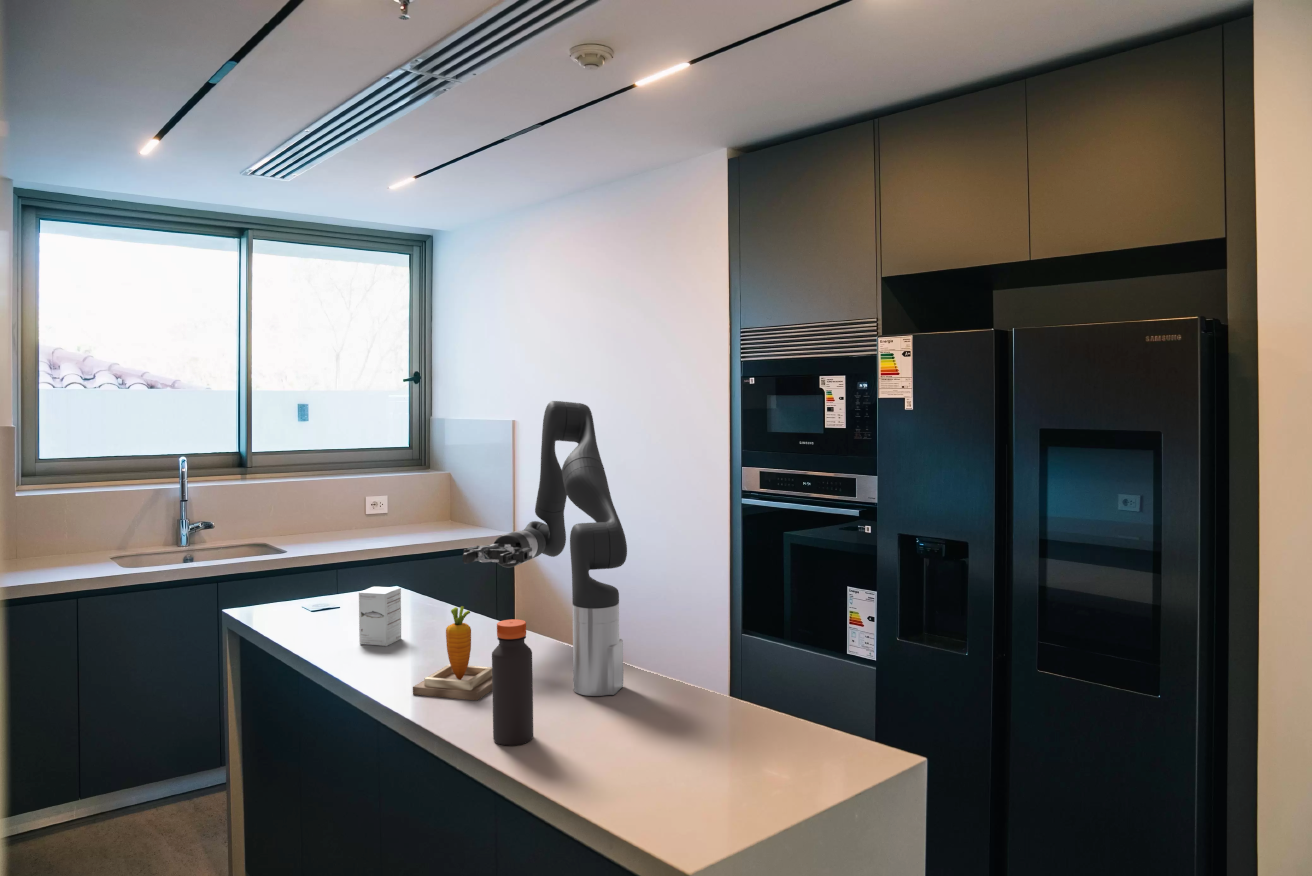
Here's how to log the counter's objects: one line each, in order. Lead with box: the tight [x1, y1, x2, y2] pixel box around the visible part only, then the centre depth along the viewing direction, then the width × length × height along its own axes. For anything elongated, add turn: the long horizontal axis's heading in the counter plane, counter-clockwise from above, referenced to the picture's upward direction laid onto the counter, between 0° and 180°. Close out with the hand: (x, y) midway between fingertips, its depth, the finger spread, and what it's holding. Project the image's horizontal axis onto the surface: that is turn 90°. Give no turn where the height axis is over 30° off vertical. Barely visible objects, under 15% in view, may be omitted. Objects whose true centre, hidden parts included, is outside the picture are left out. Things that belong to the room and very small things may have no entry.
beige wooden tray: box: [412, 663, 492, 701], centre depth 180 cm, size 14×12×3 cm
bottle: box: [491, 618, 534, 747], centre depth 152 cm, size 7×7×20 cm
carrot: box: [445, 605, 472, 680], centre depth 180 cm, size 5×5×15 cm
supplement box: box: [358, 586, 402, 647], centre depth 214 cm, size 7×7×13 cm
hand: (483, 559), depth 189 cm, fingers open, 8 cm apart
